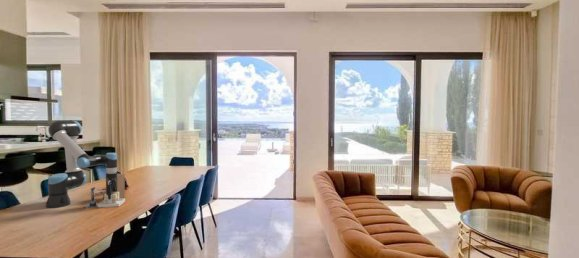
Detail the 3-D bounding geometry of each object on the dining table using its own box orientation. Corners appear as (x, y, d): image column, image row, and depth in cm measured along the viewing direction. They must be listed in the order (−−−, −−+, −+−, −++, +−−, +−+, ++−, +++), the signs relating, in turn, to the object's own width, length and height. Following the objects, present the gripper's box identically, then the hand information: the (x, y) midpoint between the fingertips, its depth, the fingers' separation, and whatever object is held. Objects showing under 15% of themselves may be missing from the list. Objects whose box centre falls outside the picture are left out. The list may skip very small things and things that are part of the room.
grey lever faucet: (83, 207, 229) (83, 189, 228) (88, 204, 237) (88, 186, 237) (96, 207, 230) (96, 189, 230) (101, 203, 239) (101, 186, 239)
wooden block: (124, 197, 259) (124, 173, 258) (117, 200, 249) (116, 176, 249) (113, 196, 260) (113, 173, 259) (105, 199, 250) (105, 175, 249)
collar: (115, 202, 236) (115, 194, 236) (101, 202, 234) (101, 194, 233) (119, 199, 244) (119, 191, 243) (105, 199, 242) (105, 192, 241)
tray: (97, 207, 230) (97, 204, 230) (105, 201, 245) (105, 199, 244) (119, 206, 233) (119, 203, 233) (125, 201, 248) (125, 198, 248)
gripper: (112, 175, 228) (112, 205, 230) (121, 170, 249) (121, 197, 250) (101, 175, 227) (101, 205, 228) (111, 170, 247) (111, 198, 248)
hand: (111, 201), depth 239 cm, fingers closed on collar, 8 cm apart
